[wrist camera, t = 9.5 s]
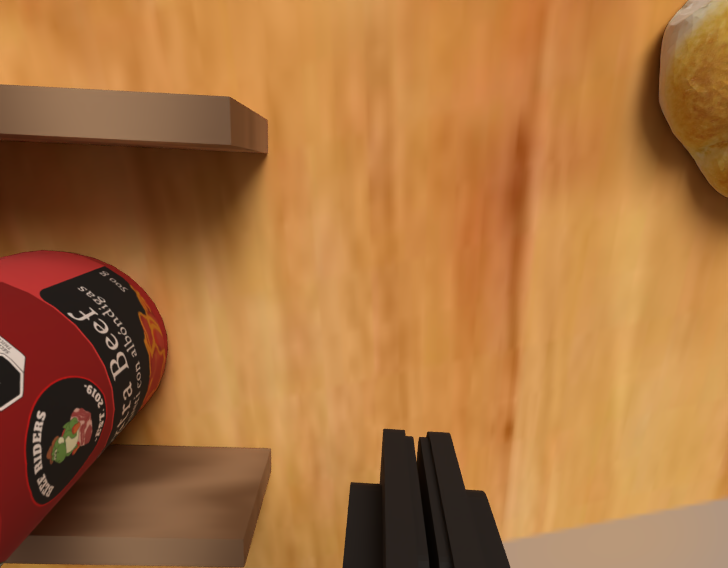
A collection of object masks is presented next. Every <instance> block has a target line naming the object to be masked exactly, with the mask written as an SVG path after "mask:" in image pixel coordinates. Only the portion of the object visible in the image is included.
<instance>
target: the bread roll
mask: <svg viewBox="0 0 728 568" xmlns="http://www.w3.org/2000/svg"><path fill="white" fill-rule="evenodd" d="M659 104H660V107H661V109H662V112H663V114H664V116H665V118H666V120H667V122H668V124H669V126H670V128H671V130H672V132H673V134H674V135H675V136H676V138H677V139H678V140H679V141H680V142H681V143H682V144H683V146H684V147H685V148H686V149H687V151H688V152H689V153H690V155H691V156H692V157H693V158H694V160H695V162H696V164H697V166H698V167H699V169H700V170H701V172H702V173H703V174H704V176H705V178H706V179H707V181H708V182H709V184H710V185H711V186H712V187H713V188H714V189H715V190H716V191H717V192H719V193H720V194H722V195H723V196H725V197H728V0H688V1H687V2H686V4H685V5H684V6H683V7H682V8H681V9H680V10H679V11H678V12H677V13H676V14H675V16H674V17H673V18H672V19H671V20H670V22H669V23H668V25H667V27H666V29H665V32H664V36H663V40H662V47H661V55H660V76H659Z"/></svg>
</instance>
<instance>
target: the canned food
mask: <svg viewBox="0 0 728 568" xmlns="http://www.w3.org/2000/svg"><path fill="white" fill-rule="evenodd" d="M167 351H168V346H167V334H166V330H165V327H164V324H163V320H162V318H161V316H160V314H159V312H158V310H157V308H156V306H155V304H154V303H153V301H152V300H151V299H150V297H149V296H148V295H147V294H146V292H145V291H144V290H143V289H142V288H141V287H140V286H139V285H138V284H137V283H136V282H135V281H134V280H132V279H131V278H130V277H129V276H128V275H126V274H124V273H123V272H121V271H120V270H118V269H117V268H115V267H114V266H112V265H109V264H107V263H105V262H102V261H100V260H98V259H95V258H92V257H88V256H84V255H80V254H75V253H68V252H60V251H46V250H40V251H31V252H23V253H18V254H14V255H9V256H5V257H1V258H0V567H1V566H2V564H3V563H4V562H5V561H6V560H7V559H8V558H9V557H10V556H11V554H12V553H13V552H14V551H15V550H16V549H17V548H18V547H19V545H20V544H21V543H22V542H23V541H24V540H25V539H26V538H27V536H28V535H29V534H30V533H31V532H32V531H33V530H34V529H35V527H36V526H37V525H38V524H39V523H40V522H41V521H42V520H43V519H44V517H45V516H46V515H47V514H48V513H49V512H50V511H51V510H52V508H53V507H54V506H55V505H56V504H57V503H58V502H59V501H60V499H61V498H62V497H63V496H64V495H65V494H66V493H67V492H68V490H69V489H70V488H71V487H72V486H73V485H74V484H75V483H76V482H77V480H78V479H79V478H80V477H81V476H82V475H83V474H84V473H85V471H86V470H87V469H88V468H89V467H90V466H91V465H92V464H93V462H94V461H95V460H96V459H97V458H98V457H99V456H100V455H101V453H102V452H103V451H104V450H105V449H106V448H107V447H108V446H109V445H110V443H111V442H112V441H113V440H114V439H115V438H116V437H117V436H118V434H119V433H120V432H121V431H122V430H123V429H124V428H125V427H126V425H127V424H128V423H129V422H130V421H131V420H132V419H133V418H134V416H135V415H136V414H137V413H138V412H139V411H140V410H141V409H142V408H143V406H144V405H145V404H146V403H147V402H148V401H149V399H150V398H151V396H152V395H153V394H154V392H155V391H156V390H157V387H158V385H159V383H160V380H161V378H162V375H163V372H164V368H165V364H166V358H167Z"/></svg>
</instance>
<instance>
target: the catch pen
mask: <svg viewBox="0 0 728 568" xmlns="http://www.w3.org/2000/svg"><path fill="white" fill-rule="evenodd" d="M0 140H7V141H27V142H47V143H68V144H88V145H108V146H129V147H149V148H169V149H190V150H210V151H231V152H251V153H268V124H267V119H265V118H263V117H262V116H260V115H259V114H257V113H255V112H254V111H252V110H250V109H249V108H247V107H246V106H244V105H242V104H241V103H239V102H237V101H236V100H234V99H233V98H231V97H225V96H206V95H188V94H169V93H150V92H132V91H113V90H94V89H75V88H57V87H38V86H19V85H1V84H0ZM270 473H271V449H265V448H227V447H189V446H150V445H112V444H110V445H109V446H108V447H107V448H106V449H105V450H104V451H103V452H102V453H101V455H100V456H99V457H98V458H97V459H96V460H95V461H94V462H93V464H92V465H91V466H90V467H89V468H88V469H87V470H86V471H85V473H84V474H83V475H82V476H81V477H80V478H79V479H78V480H77V482H76V483H75V484H74V485H73V486H72V487H71V488H70V489H69V490H68V492H67V493H66V494H65V495H64V496H63V497H62V498H61V499H60V501H59V502H58V503H57V504H56V505H55V506H54V507H53V508H52V510H51V511H50V512H49V513H48V514H47V515H46V516H45V517H44V519H43V520H42V521H41V522H40V523H39V524H38V525H37V526H36V527H35V529H34V530H33V531H32V532H31V533H30V534H29V535H28V536H27V538H26V539H25V540H24V541H23V542H22V543H21V544H20V545H19V547H18V548H17V549H16V550H15V551H14V552H13V553H12V554H11V556H10V557H9V558H8V559H7V560H6V561H5V562H4V563H20V564H80V565H139V566H199V567H244V566H245V563H246V559H247V555H248V552H249V548H250V545H251V541H252V538H253V534H254V530H255V527H256V523H257V520H258V516H259V512H260V509H261V505H262V502H263V498H264V495H265V491H266V487H267V484H268V480H269V477H270Z"/></svg>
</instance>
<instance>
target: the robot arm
mask: <svg viewBox="0 0 728 568" xmlns="http://www.w3.org/2000/svg"><path fill="white" fill-rule="evenodd" d="M343 568H510V565H509V562H508V559H507V556H506V553H505V550H504V547H503V544H502V541H501V538H500V535H499V532H498V529H497V526H496V523H495V520H494V517H493V514H492V511H491V508H490V505H489V502H488V499H487V496H486V494H485V492H483V491H478V490H465V486H464V483H463V479H462V475H461V472H460V468H459V464H458V461H457V457H456V453H455V450H454V446H453V442H452V439H451V435H450V433H444V432H427V436H426V437H419V441H418V452H417V463H416V455H415V447H414V439H413V437H412V436H405V430H395V429H383V441H382V457H381V472H380V484H370V483H354V482H351V485H350V495H349V505H348V516H347V527H346V538H345V548H344V559H343Z"/></svg>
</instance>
